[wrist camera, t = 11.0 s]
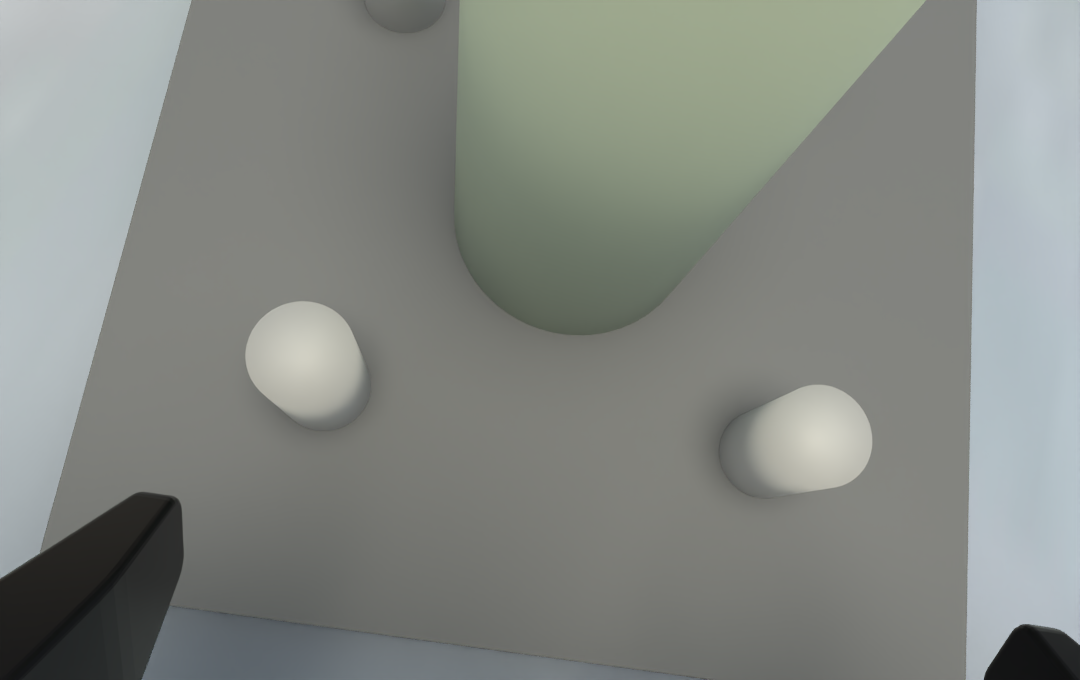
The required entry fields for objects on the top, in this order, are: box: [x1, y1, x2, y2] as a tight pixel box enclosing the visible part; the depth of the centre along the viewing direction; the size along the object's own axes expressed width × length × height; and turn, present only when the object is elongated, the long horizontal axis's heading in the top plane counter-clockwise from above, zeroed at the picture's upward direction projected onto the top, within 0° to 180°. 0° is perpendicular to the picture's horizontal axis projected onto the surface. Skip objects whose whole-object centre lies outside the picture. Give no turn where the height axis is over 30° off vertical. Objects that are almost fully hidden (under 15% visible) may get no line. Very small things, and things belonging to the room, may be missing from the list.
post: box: [454, 0, 926, 335], centre depth 13 cm, size 5×5×12 cm
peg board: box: [40, 0, 977, 680], centre depth 18 cm, size 18×18×4 cm
